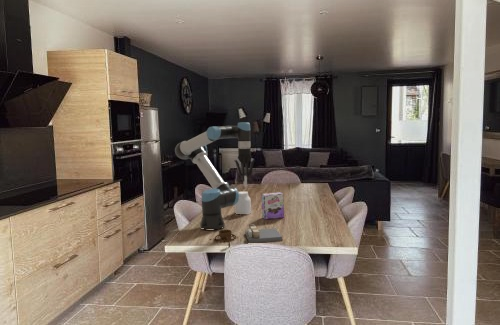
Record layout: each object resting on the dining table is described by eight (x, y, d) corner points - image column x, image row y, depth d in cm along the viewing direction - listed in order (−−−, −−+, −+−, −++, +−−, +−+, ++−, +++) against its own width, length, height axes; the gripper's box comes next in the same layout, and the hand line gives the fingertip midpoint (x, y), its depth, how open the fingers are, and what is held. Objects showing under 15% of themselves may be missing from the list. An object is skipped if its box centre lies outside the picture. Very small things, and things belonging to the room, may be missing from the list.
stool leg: (249, 229, 216) (248, 224, 216) (254, 229, 217) (254, 224, 217) (254, 237, 201) (253, 232, 201) (259, 237, 202) (259, 231, 201)
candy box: (264, 219, 247) (263, 195, 245) (261, 217, 253) (261, 193, 251) (284, 217, 250) (283, 193, 249) (281, 215, 256) (280, 191, 254)
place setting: (244, 237, 212) (243, 227, 212) (232, 249, 193) (231, 237, 193) (215, 235, 218) (215, 225, 217) (200, 246, 199) (200, 236, 198)
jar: (251, 211, 271) (250, 191, 269) (250, 214, 262) (249, 193, 260) (235, 211, 272) (235, 191, 270) (234, 215, 262) (233, 194, 261)
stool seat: (249, 242, 200) (248, 233, 200) (245, 233, 217) (244, 225, 216) (282, 240, 203) (281, 231, 202) (275, 231, 219) (275, 223, 219)
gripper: (235, 149, 221) (236, 188, 224) (256, 148, 225) (257, 186, 227) (232, 148, 228) (233, 186, 231) (253, 147, 232) (253, 184, 235)
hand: (245, 186), depth 229 cm, fingers closed
